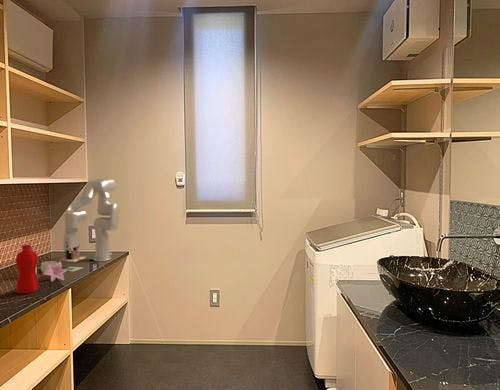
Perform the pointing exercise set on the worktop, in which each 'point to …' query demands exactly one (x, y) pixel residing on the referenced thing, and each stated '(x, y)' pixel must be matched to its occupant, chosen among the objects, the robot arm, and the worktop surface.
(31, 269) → the water bottle
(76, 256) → the lid
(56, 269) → the lily
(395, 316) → the worktop surface
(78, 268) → the mat
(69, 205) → the robot arm
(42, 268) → the bowl
